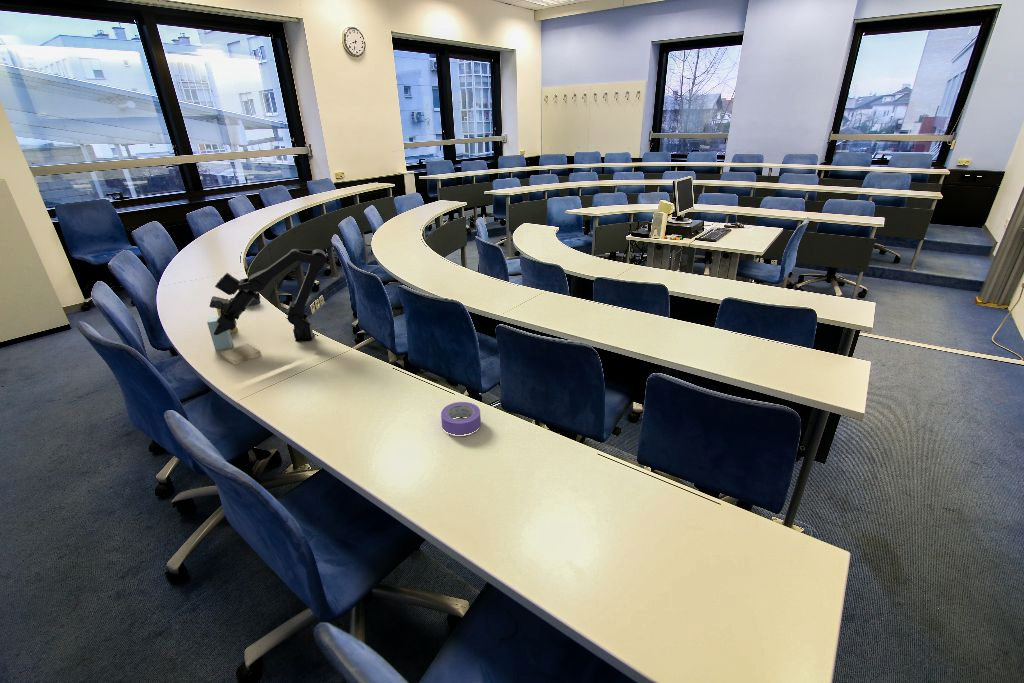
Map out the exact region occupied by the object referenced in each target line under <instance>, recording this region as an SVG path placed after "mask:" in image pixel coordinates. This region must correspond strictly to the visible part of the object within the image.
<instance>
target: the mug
mask: <svg viewBox="0 0 1024 683" xmlns="http://www.w3.org/2000/svg"><path fill="white" fill-rule="evenodd" d="M239 290H240V289H238V290H237V291H239ZM259 304H261V299H260V300H259V301H258V300H257V299H255V298H254V299H253V300H252V301H251V303H250V304H249V305H248V306H247V307H255V306H256V305H259Z"/></svg>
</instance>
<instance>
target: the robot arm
mask: <svg viewBox="0 0 1024 683" xmlns="http://www.w3.org/2000/svg"><path fill="white" fill-rule="evenodd" d="M295 262H301V263H304V264H308V268H307V272H306V275H305V276H304V279H303V282H302V284H301V287H300V289H299V292H298V294H297V297H296V299H295V300H294V302H292V301H289V305H288V308H287V309H286V316H287V321H288V323H289V324H291V325H293V330H292V331H293V336H294V339H295V340H294V342H311V341H313V339H314V337H315V334H316V333H314V332H313V326H312V323H311V322H310V315H309V314H307V313H305V309H306V304H307V302H308V299H309V296H310V294H311V292H312V289H313V286H314V284H315V281H316V279H317V277H318V275H319V274H320V272H321V271H322V270H323V268H324V266H325V265H326V263H327V256H326V252H325V251H324V250H323V249H321V248H320V249H319V248H316V249H299V248H292V249H291V250H290V251H289V252H287V253H286V254H285V255H283V256H282V257H281V258H279V259H278V260H277V261H275V262H274V263H272V264H271V265H270V266H268V267H267V268H265V269H262V270H260V271H257V272H255V273H252V274H251V275H250V276H249V277H245V278H241V279H240V280H239V279H237V278H235V277H234V276H233V275H231V274H230V273H228V272H225V274H224V275H223V276H221V278H220V279H219V280H218V281H217V283H216V284H215V285H214V288H216V289H218V290H220V291H222V292H223V293H224V294H226V295H227V296H232V295H234V297H231V298H230V299H229V300H226V299H224V297H219V296H211V298H210V302H209V306H208V307H209V308H211V309H216V310H217V309H221V311H220V312H221V315H220V316H219V318H218V319H217V322H218V323H219V324H218V326H217V328H216V330H215V332H214V335H218V334H221V333H223V332H225V331H227V330H229V329H230V330H233V329H234V328H235V327H237V321H238V320H239V319H240V316H241V315H242V314H243V312H246V310H247V307H249V306H248V305H249V304H250V303H251V301H252V300H253V299H254V298H255V299H257V300H258V301H259V300H260V301H261V295H260V294H261V293H260V292H261V291H263V290H264V289H265V288H266V286H267V285H268V284H269V283H270V282H271V281H272V280H273V279H274V278H275V277H276V276H278V275H279V274H280V273H282V272H284V270H286V269H287V268H288V267H290V266H291V265H293V264H294V263H295ZM238 289H240V290H238Z"/></svg>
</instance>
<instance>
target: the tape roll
mask: <svg viewBox="0 0 1024 683" xmlns="http://www.w3.org/2000/svg"><path fill="white" fill-rule="evenodd" d="M456 417H467V418H466V419H465V418H460V419H453V418H456ZM440 418H441V419H440V420H441V429H442V428H443V429H444V430H445V431H446V432H448V433H451V434H455V435H464V434H469V433H472V432H474V431H476V430H477V429H478V428H479V427H480V425H481V426H482V422H481V408H479V406H477V405H476V404H474V403H472V402H468V401H467V402H466V401H457V402H454V403H453V402H452V403H450V404H448V405H446V406H445V407H444V408H442V410H441V412H440ZM480 428H481V427H480ZM443 429H442V430H443Z"/></svg>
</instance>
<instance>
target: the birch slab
mask: <svg viewBox="0 0 1024 683" xmlns="http://www.w3.org/2000/svg"><path fill="white" fill-rule="evenodd" d="M220 354H221V358H223V359H224V360H226V361H227V362H229V363H231V364H232V365H234V366H235V365H238V364H240V363H243V362H246V361H249V360H252V359H255V358H257V357H261V356H262V353H261V351H260V350H259V349H258V348H256V347H254V346H253V345H250V344H248V343H246V344H243V345H240V346H237V347H233V348H229V349H226V350H225V351H221V352H220Z"/></svg>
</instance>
